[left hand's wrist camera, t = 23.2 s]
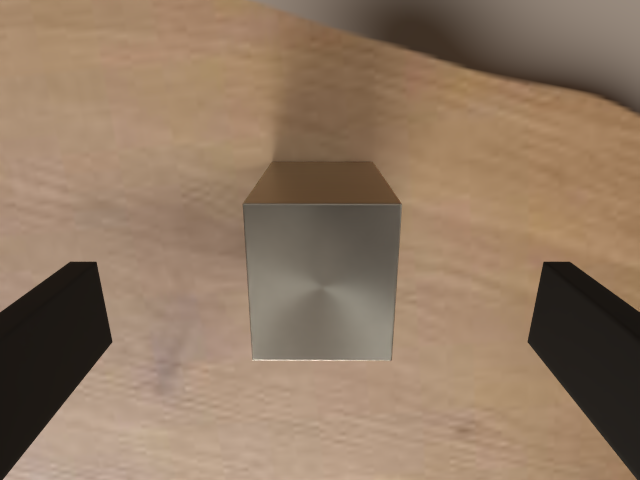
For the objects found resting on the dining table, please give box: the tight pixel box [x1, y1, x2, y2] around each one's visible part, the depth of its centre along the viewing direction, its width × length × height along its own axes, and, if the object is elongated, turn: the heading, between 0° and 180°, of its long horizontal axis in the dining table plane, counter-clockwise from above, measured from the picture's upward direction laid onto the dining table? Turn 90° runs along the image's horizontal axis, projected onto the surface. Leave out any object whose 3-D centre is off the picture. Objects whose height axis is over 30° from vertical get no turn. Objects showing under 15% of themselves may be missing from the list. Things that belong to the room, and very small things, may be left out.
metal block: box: [243, 162, 402, 361], centre depth 19 cm, size 5×6×8 cm
